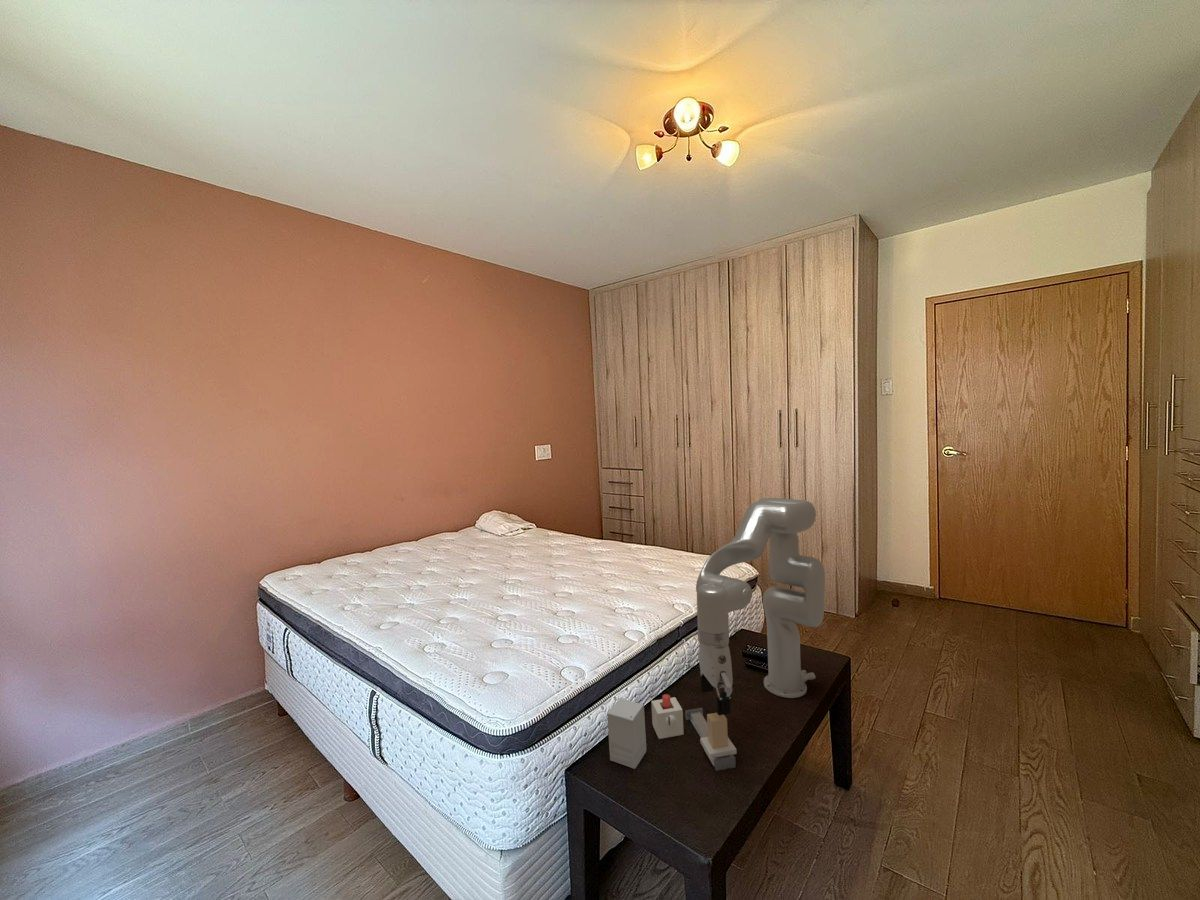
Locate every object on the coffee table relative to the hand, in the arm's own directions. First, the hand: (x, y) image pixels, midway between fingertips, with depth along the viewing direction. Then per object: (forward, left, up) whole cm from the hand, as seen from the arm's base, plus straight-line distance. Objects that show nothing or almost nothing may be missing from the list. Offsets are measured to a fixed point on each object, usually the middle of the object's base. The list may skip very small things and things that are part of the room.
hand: (715, 702), depth 115 cm
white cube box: (+9, -13, -15) cm, 21 cm away
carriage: (0, 0, -14) cm, 14 cm away
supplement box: (+22, -6, -15) cm, 27 cm away
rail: (0, -6, -15) cm, 16 cm away
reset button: (+9, -13, -10) cm, 19 cm away
